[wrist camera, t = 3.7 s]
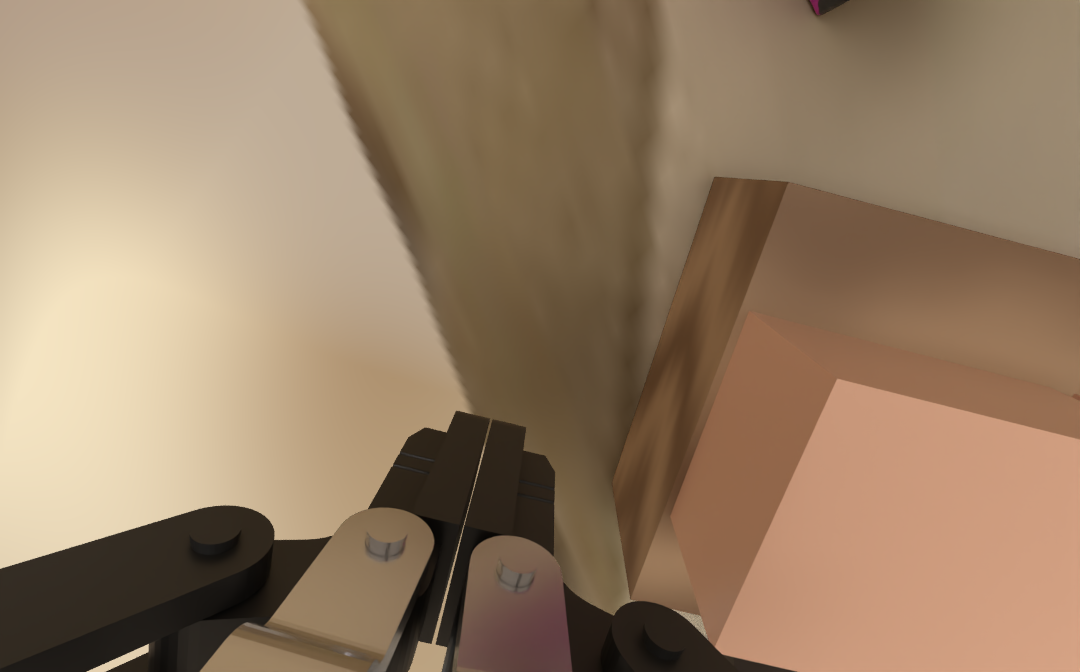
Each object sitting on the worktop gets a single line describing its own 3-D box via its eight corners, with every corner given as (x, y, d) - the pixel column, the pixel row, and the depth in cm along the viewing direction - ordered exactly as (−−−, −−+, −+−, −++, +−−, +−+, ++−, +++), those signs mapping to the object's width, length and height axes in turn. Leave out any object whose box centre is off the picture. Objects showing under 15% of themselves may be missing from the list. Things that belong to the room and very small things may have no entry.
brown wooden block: (714, 176, 20) (788, 182, 14) (1195, 303, 21) (1486, 366, 15) (611, 482, 25) (630, 599, 18) (1016, 579, 25) (1176, 725, 19)
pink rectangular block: (748, 310, 15) (837, 378, 10) (1050, 387, 15) (1271, 487, 10) (670, 516, 17) (712, 652, 12) (936, 579, 17) (1077, 735, 13)
